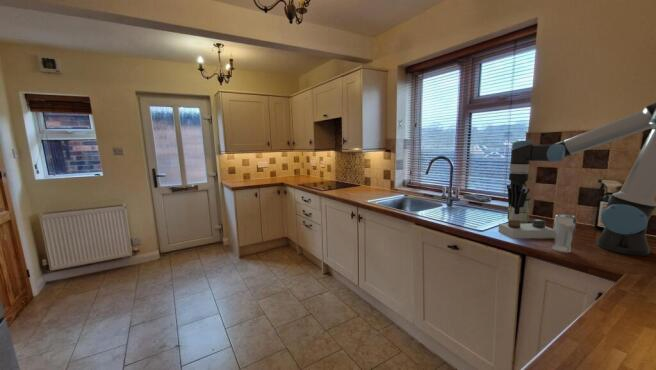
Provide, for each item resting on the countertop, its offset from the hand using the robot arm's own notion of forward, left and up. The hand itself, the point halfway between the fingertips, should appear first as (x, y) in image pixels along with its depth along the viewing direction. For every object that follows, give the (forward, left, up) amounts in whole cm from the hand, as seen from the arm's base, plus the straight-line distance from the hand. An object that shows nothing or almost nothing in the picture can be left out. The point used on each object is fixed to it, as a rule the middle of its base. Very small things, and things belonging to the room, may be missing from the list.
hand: (514, 219), depth 131 cm
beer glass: (-20, -7, -8) cm, 23 cm away
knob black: (0, -12, -6) cm, 14 cm away
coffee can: (+25, -19, -8) cm, 32 cm away
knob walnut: (0, 0, -6) cm, 6 cm away
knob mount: (0, -6, -8) cm, 10 cm away
